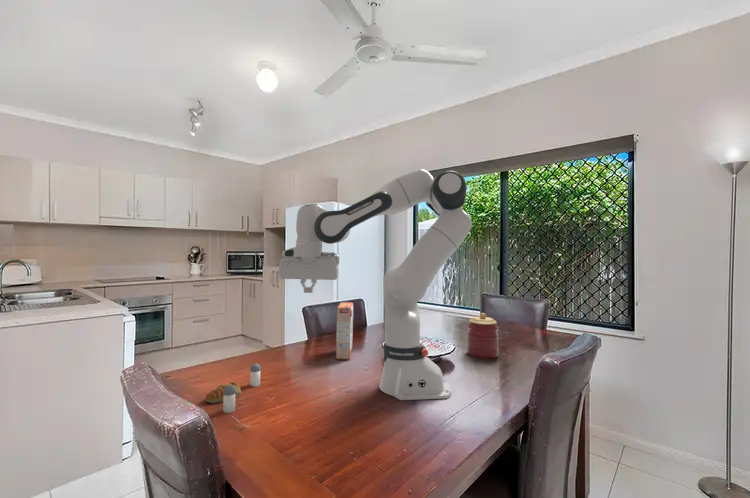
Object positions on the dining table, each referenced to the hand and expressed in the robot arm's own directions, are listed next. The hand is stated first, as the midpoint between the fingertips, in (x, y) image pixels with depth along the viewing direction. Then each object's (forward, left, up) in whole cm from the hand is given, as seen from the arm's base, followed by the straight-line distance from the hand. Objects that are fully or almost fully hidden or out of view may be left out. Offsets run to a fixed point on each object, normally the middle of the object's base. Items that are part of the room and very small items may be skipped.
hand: (308, 292), depth 122 cm
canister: (-67, -34, -29) cm, 81 cm away
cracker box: (-9, -27, -29) cm, 41 cm away
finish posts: (+15, +17, -29) cm, 37 cm away
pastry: (+20, +18, -30) cm, 40 cm away
